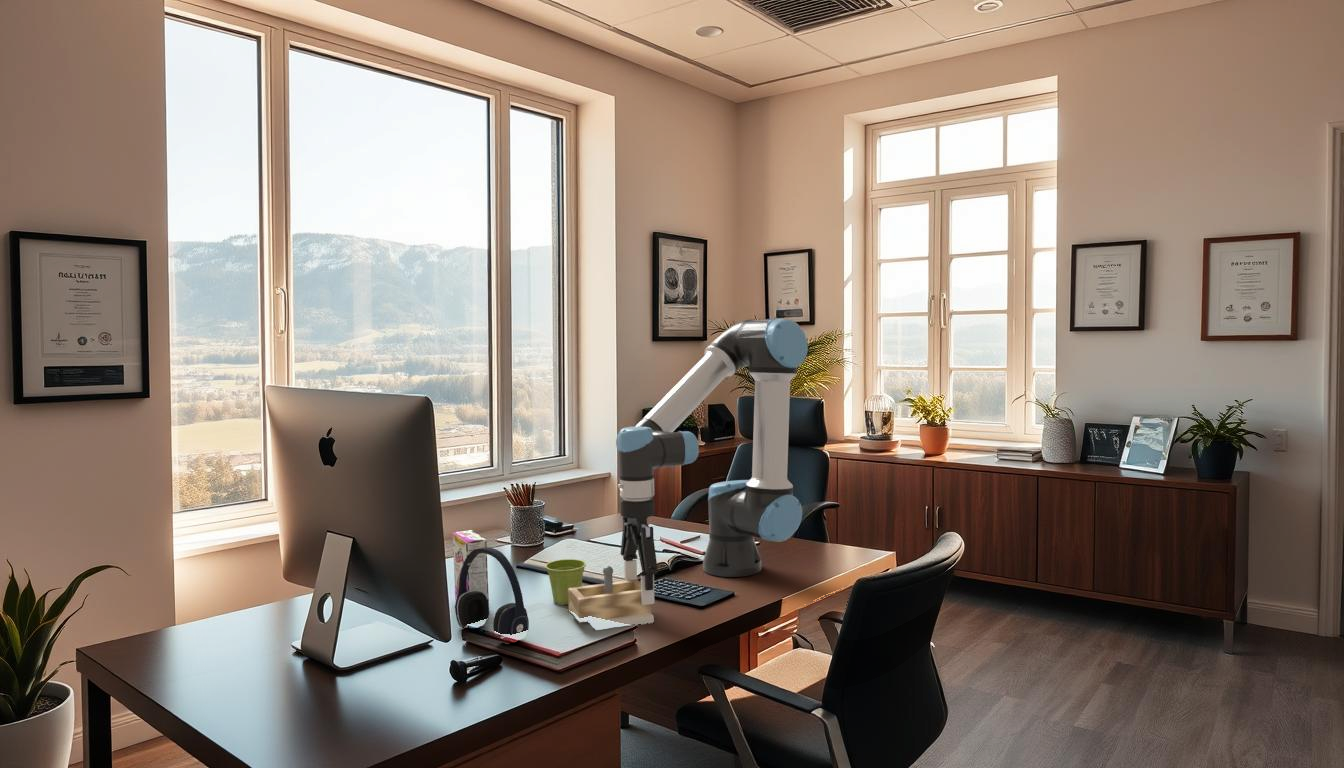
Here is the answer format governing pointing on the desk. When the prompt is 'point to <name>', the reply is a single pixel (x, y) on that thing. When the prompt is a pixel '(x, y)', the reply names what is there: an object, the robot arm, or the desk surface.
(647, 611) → the wooden planter box
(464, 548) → the candy bar box
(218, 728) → the desk surface
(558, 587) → the plant pot
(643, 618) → the peg stand
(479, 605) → the headphones
